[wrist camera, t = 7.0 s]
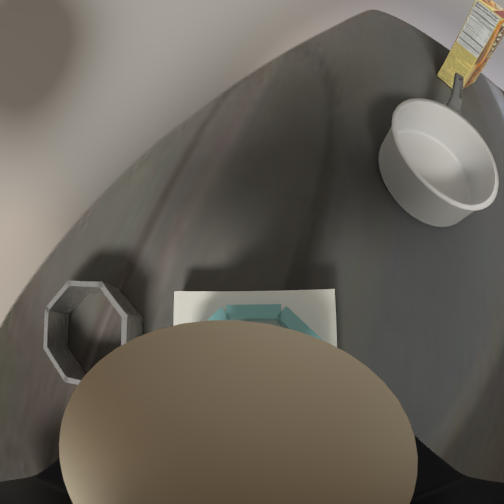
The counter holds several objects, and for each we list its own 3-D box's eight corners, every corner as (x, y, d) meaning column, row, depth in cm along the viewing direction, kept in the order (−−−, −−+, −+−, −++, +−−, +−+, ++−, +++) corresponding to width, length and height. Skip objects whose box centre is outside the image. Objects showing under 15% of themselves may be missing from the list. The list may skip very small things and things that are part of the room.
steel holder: (143, 389, 20) (127, 395, 17) (64, 375, 20) (43, 376, 17) (145, 288, 22) (129, 281, 19) (67, 286, 22) (47, 279, 19)
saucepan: (477, 127, 27) (497, 102, 22) (455, 257, 22) (492, 237, 17) (404, 80, 29) (418, 49, 23) (353, 192, 24) (374, 156, 19)
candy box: (456, 65, 31) (490, -2, 16) (475, 82, 30) (514, 17, 15) (435, 75, 29) (474, -4, 15) (458, 95, 28) (503, 18, 14)
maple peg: (274, 436, 14) (302, 617, 2) (193, 398, 15) (37, 505, 2) (314, 359, 15) (471, 397, 3) (232, 321, 16) (138, 250, 4)
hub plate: (329, 434, 18) (345, 454, 14) (183, 435, 19) (165, 455, 14) (328, 293, 22) (344, 281, 17) (181, 295, 22) (163, 284, 18)
